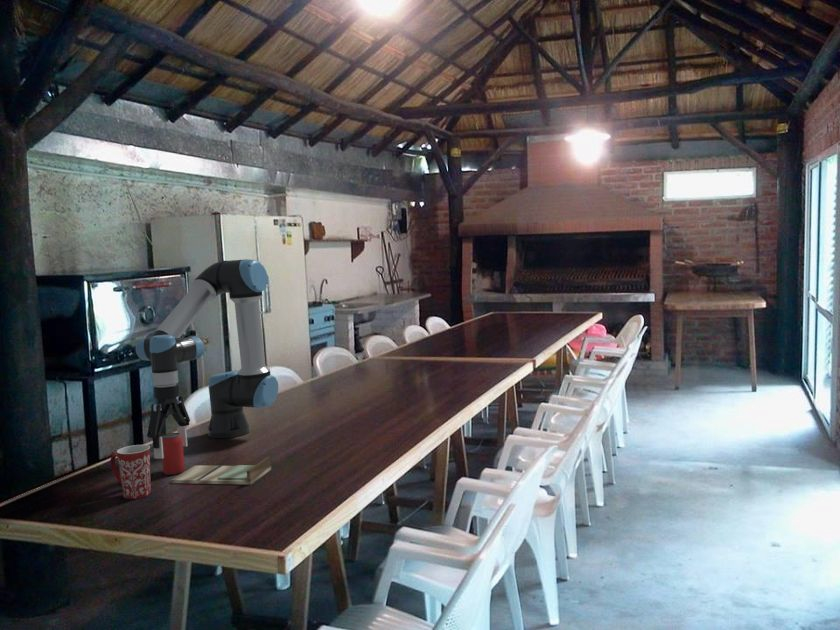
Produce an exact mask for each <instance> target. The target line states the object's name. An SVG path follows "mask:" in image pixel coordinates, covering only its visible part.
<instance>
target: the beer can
mask: <svg viewBox="0 0 840 630" xmlns="http://www.w3.org/2000/svg"><path fill="white" fill-rule="evenodd" d="M160 437H162V443H163V455H164V458H163V459H161V466H162V473H163V474H164V475H166V476H174V475H175V476H177V475H180V474H181V473H183V472H185V471H186V467H185V455H184V447H183V442H182V438H181V436H180V433H178V432H170V433H169V432H168V433H165V434H162V435H160Z"/></svg>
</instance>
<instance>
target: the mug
mask: <svg viewBox="0 0 840 630" xmlns="http://www.w3.org/2000/svg"><path fill="white" fill-rule="evenodd" d="M150 450H151V446H150V445H147V444H136V445H135V444H133V445H127V446H125V447H122V448H119V449H117V450H116V453H114V454H112V456H111V457H110V459H109V461H110V467H111V471H112V473H113V475H114V476H115V478H116V479H117V481H118V482H119V484H121V487H122V495H123V498H125V499H127V500H137V499H142V498H145V497H147V496H149V495H150V494H151V493H152V491H151V490H152V489H151V487H152V486H151V460H150V458H151V457H150V456H151V455H150V454H151V453H150ZM116 458H117V460H118V465H119V469H118V467H117V464H116Z"/></svg>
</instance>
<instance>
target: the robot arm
mask: <svg viewBox="0 0 840 630" xmlns="http://www.w3.org/2000/svg"><path fill="white" fill-rule="evenodd" d="M268 277H269V276H268V273H267V270H266V267H265V266H264V265H263V264H262V263H261V262H260V261H258V260H256V259H248V258H244V259H234V260H233V259H232V260H231V259H230V260H220V261H217V262H215V263H213V264H211V265H209V266H207V267H206V268H205V269H204V270H203V271H202V272H201V273H199V274H198V276H197V277H195V279H194V280H193V281H192V283H191V288H190V289H189V290H188V292H187V293H186V294H185V295H184V296H183V298H181V300H180V301H179V302H178V304H176V305H175V307H174V308H173V309H172V310H171V312H170V313H169V314H168V315H167V317H165V319H164V320H163V321H162V323H161V324H159V326H158V327H157V328H156V329H155V331H154V332H153V333H152V334H151V335H150V337H149V336H146V337H141V338H140V339H139V340H138V341H137V342H136V345H135V353H136V355H137V357H138V358H139V359H140V360H142V361H148V362H150V366H151V374H152V375H151V376H152V377H151V378H152V384H153V389H152V391H153V398H154V399H155V400H157V404H155V403H154V404H151V407H150V409H151V410H150V411H151V412H150V417H149V423H148V427H147V428H148V429H147V434H146V437H147V438H150V439H151V440H152V447H153V458H154V459H155V460H156V459H159V460H160V459H161V460H162V459H163V458H164V455H163V443H162V437H161V436H162V435H161V434H162V431H163V430H164V429H163V428H164V425H165V423H166V420H167V419H168V417H169V416H172V417H173V418H174V421H175V422H176V423H177V425H178V426H177V427H176V429H177V433H180V436H181V438H182V442H183V448H184V447H188V436H187V426H190V423H191V419H190V416H189V414H188V411H187V408H186V406H185V403H184V399H183V396H182V395H180V385H179V384H178V383H179V372H178V371H179V370H178V364H180V363H183V362H188V361H189V362H190V361H194V360H197V359H199V358H201V357H202V356H203V355H204V352H205V343H204V342H203V340H202V339H201V338H200V337H198V336H187V337H181V336H182V335H183V334H184V332H186V330H187V329H188V328H189V326H190V325H191V324H192V323H193V322H194V320H195V319H196V318H197V317H198V316H199V314H200V313H201V311H203V309H204V308H205V306H207V304H208V302H211V301H214V300H216V298H217V296H219V295H221V294H224V293H225V294H226V293H227V294H228V296H229V299H230V300H231V301H232V302H233V303H234V311H235V320H236V328H237V329H236V331H237V339H238V347H239V359H240V366H241V368H240V369H239V370H230V371H229V370H228V371H226V372H221V373H215V374H213V375H211V376H209V378H208V393H209V403H210V412H211V414H210V415H211V416H210V418H209V423H208V424H209V425H208V428H207V435H208V437H210V438H212V439H227V438H228V439H231V438H235V437H241V436H244V435H247V434H248V433H249V432H250V429H251V428H250V424H249V421H248V419H247V416H246V415H245V412H244V408H255V409H260V408H269V407H270V406H272V405H273V404H274V402H275V401H276V399H277V397H278V394H279V381H278V379H277V378H276V377H275V376H273V375H271V369H270V368H269V367H268V366H267V365H266V359H265V350H264V341H263V340H264V339H263V329H262V318H261V312H260V311H261V310H260V309H261V308H260V299H261V298H262V297H263V292H264V291H265V290H266V289H267V286H268V284H269V283H268V281H269V278H268Z"/></svg>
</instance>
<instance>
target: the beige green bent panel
mask: <svg viewBox="0 0 840 630" xmlns="http://www.w3.org/2000/svg"><path fill="white" fill-rule="evenodd" d="M271 470H272V464H271V456H266V457H265V458H264V459H262V460H260V461H259V462H258V463H256V464H255V465H253V464H252V465H251V464H248V465H247V464H245V465H243V464H237V465H222V464H221V465H200V464H199V465H196V464H195V465H193V466H191V467H190V468H188V469H187V470H186V469H185V470H184V471H183V472H182V473H179V474H177V475H175V477H173V478H171V479H170V484H193V485H194V484H196V485H197V484H198V485H200V484H202V485H203V484H205V485H245V486H246V485H247V486H248V485H250V486H251V485H252V484H254V483H255V482H256V481H258V480H259V479H261V478H262V477H264V476H265V475H266V474H267V473H268V472H270V471H271Z"/></svg>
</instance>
